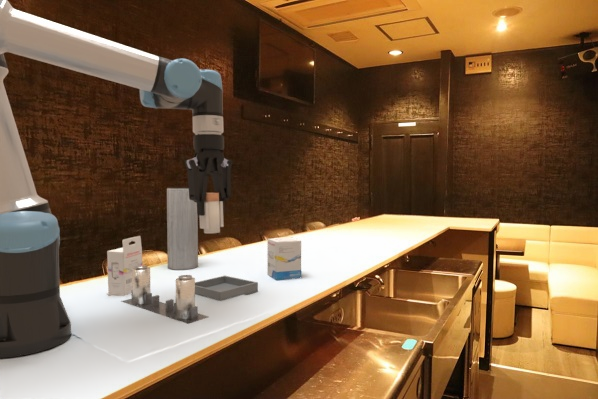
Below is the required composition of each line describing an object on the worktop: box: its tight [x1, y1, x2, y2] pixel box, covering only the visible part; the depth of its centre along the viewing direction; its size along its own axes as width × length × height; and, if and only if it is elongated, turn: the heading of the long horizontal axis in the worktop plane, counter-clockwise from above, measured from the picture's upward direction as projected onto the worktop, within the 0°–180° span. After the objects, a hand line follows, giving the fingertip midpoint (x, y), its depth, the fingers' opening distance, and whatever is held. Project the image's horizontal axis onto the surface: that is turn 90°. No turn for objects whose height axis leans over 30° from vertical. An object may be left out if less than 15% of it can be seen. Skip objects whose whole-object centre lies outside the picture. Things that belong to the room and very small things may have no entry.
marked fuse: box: [203, 192, 221, 234], centre depth 108 cm, size 4×4×10 cm
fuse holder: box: [120, 264, 209, 325], centre depth 98 cm, size 6×26×9 cm, turn 52°
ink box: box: [267, 236, 302, 281], centre depth 133 cm, size 9×8×12 cm
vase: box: [166, 187, 199, 271], centre depth 146 cm, size 10×10×27 cm
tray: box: [195, 275, 259, 302], centre depth 113 cm, size 13×13×2 cm
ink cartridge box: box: [106, 235, 143, 297], centre depth 113 cm, size 9×5×15 cm, turn 168°
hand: (211, 227), depth 109 cm, fingers closed on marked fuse, 4 cm apart
